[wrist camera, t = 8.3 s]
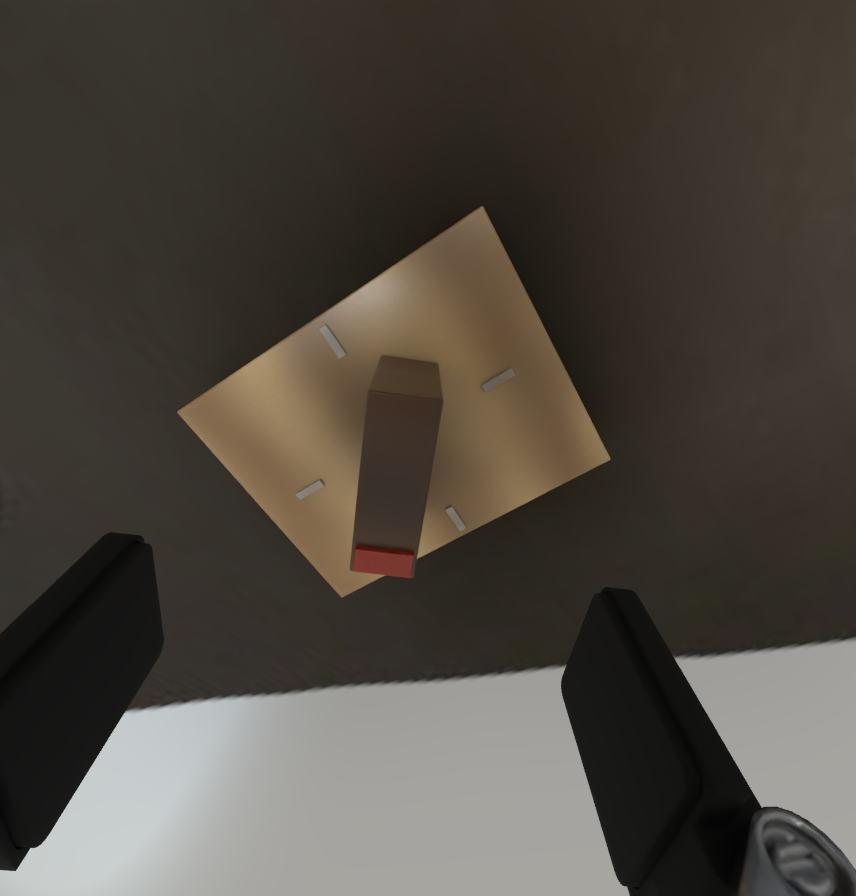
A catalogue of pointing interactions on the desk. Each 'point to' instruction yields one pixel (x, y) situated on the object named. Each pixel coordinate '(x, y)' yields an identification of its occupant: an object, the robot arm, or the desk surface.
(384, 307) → the wooden dial board
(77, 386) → the desk surface
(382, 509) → the arm
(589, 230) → the desk surface
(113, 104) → the desk surface
